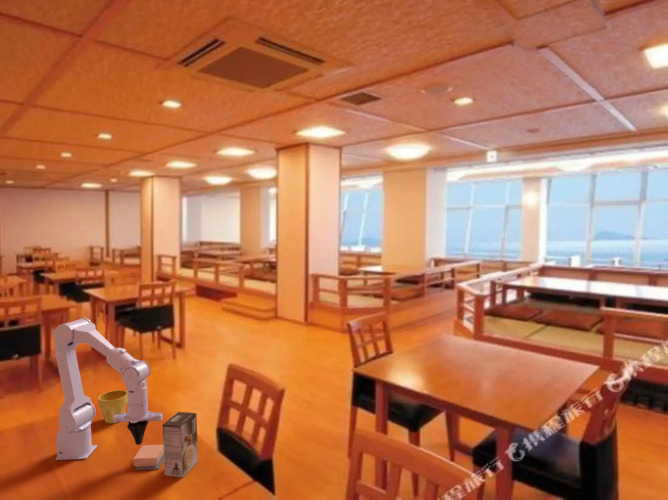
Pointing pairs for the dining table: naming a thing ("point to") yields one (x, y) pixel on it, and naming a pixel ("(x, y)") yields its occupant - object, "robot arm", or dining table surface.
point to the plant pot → (112, 404)
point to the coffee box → (180, 444)
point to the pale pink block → (148, 455)
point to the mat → (151, 466)
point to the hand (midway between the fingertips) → (139, 443)
